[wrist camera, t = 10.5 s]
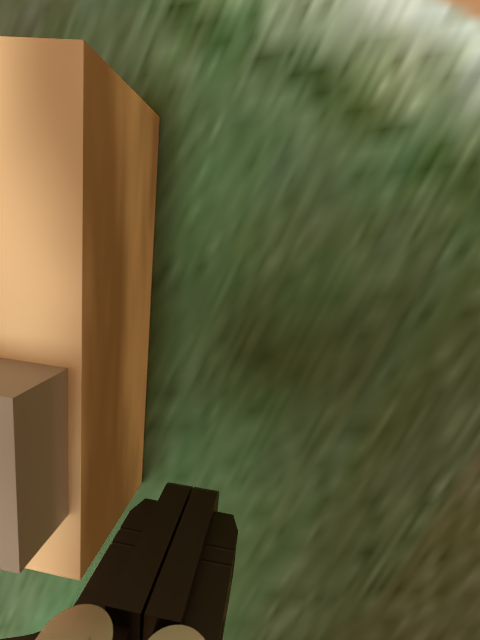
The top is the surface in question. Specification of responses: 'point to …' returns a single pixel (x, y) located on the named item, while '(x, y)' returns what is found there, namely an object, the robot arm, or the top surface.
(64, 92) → the board
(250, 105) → the top surface
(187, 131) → the top surface
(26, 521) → the slate tile
